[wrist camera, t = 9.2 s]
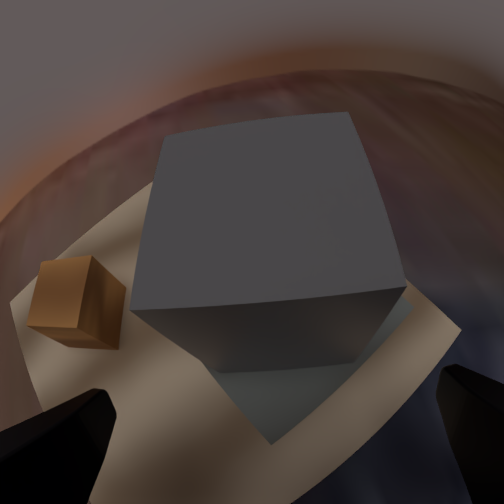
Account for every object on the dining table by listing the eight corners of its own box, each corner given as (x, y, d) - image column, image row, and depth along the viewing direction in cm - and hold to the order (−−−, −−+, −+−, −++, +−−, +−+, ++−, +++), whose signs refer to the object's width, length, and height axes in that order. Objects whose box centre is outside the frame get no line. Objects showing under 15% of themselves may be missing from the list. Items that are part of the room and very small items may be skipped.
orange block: (118, 350, 16) (76, 327, 13) (68, 347, 17) (26, 325, 14) (126, 287, 18) (91, 255, 15) (78, 290, 19) (41, 261, 16)
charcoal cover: (353, 362, 14) (407, 286, 7) (219, 372, 15) (128, 310, 7) (336, 246, 18) (347, 111, 10) (221, 258, 18) (164, 136, 11)
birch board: (457, 333, 14) (462, 329, 14) (152, 573, 9) (147, 576, 9) (221, 141, 25) (219, 135, 24) (13, 305, 20) (9, 302, 19)
